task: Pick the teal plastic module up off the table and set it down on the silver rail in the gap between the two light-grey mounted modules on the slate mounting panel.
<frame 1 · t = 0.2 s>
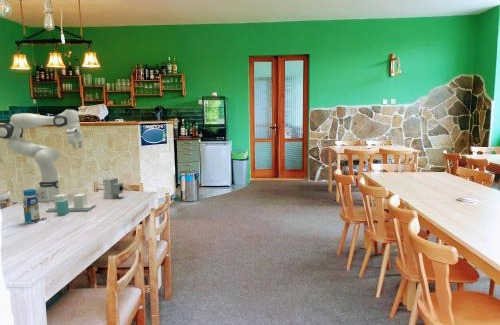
hand: (77, 148, 302), 39 cm above the table, tool pointing down, fingers open, 8 cm apart
mounting panel: (71, 209, 274), on the table
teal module: (63, 214, 261), on the table
circuit breaker: (115, 198, 308), on the table
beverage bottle: (32, 222, 244), on the table
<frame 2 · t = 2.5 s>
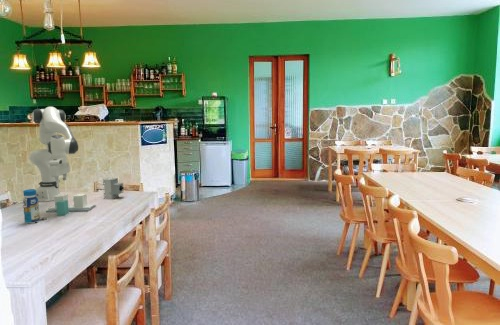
hand: (61, 181, 258), 22 cm above the table, tool pointing down, fingers open, 8 cm apart
nothing on the table moved.
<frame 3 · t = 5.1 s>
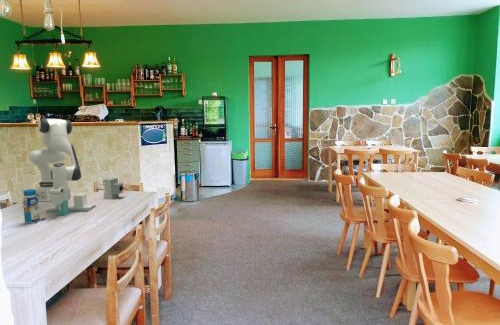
hand: (62, 208, 261), 4 cm above the table, tool pointing down, fingers closed on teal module, 5 cm apart
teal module: (63, 214, 261), on the table, touching gripper
everything else where it was.
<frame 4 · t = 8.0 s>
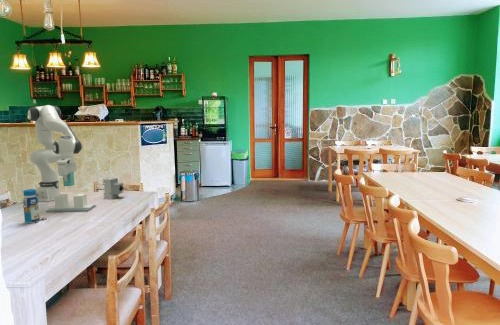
hand: (68, 180, 271), 20 cm above the table, tool pointing down, fingers closed on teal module, 5 cm apart
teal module: (69, 185, 271), point 17 cm above the table, touching gripper
everything else where it was.
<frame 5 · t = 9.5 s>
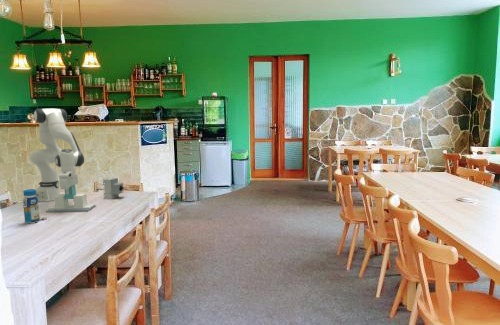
hand: (70, 193, 272), 11 cm above the table, tool pointing down, fingers closed on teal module, 5 cm apart
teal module: (70, 198, 273), point 8 cm above the table, touching gripper
everything else where it was.
when the fingers open (7 cm above the table, at t = 10.8 s): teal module drops 1 cm, resting on mounting panel.
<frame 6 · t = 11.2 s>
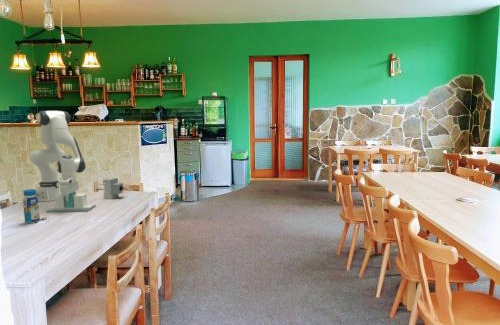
hand: (70, 199, 273), 7 cm above the table, tool pointing down, fingers open, 8 cm apart
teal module: (71, 206, 274), point 2 cm above the table, touching mounting panel
everything else where it was.
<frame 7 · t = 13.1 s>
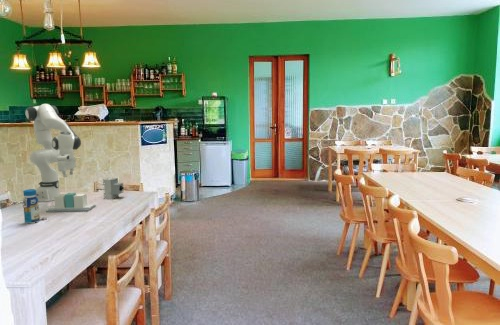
hand: (68, 175, 272), 23 cm above the table, tool pointing down, fingers open, 8 cm apart
nothing on the table moved.
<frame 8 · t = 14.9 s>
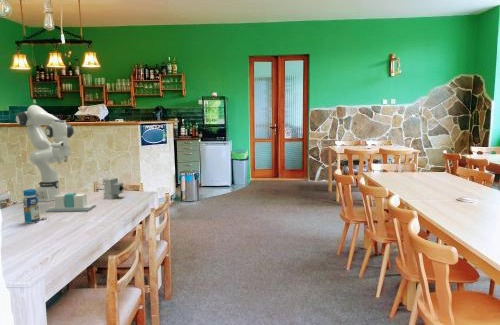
hand: (62, 162, 280), 31 cm above the table, tool pointing down, fingers open, 8 cm apart
nothing on the table moved.
at the end: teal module 0.1 cm off-centre on the mounting panel, point 2.0 cm above the mounting panel's base; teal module tilted 0°; the gripper is holding nothing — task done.
